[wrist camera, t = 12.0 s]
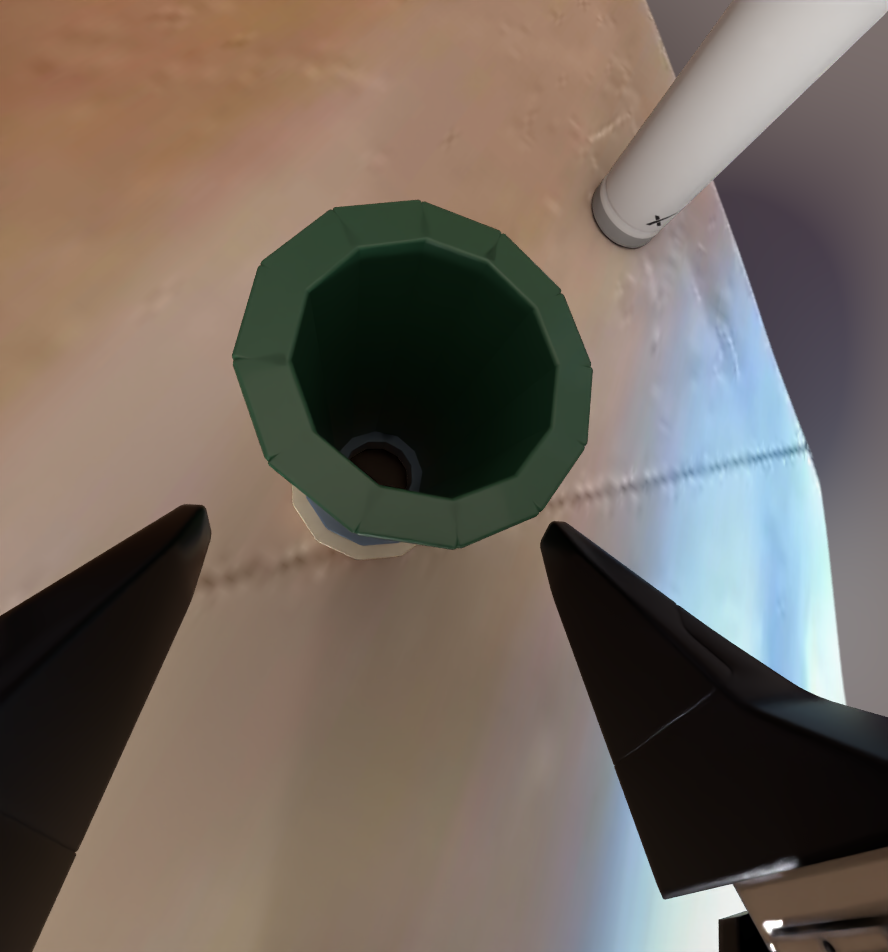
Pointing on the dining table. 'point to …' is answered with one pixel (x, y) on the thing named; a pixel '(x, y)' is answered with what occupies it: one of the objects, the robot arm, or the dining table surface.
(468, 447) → the green pencil cup
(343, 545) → the ring stack
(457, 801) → the dining table surface
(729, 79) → the travel mug
